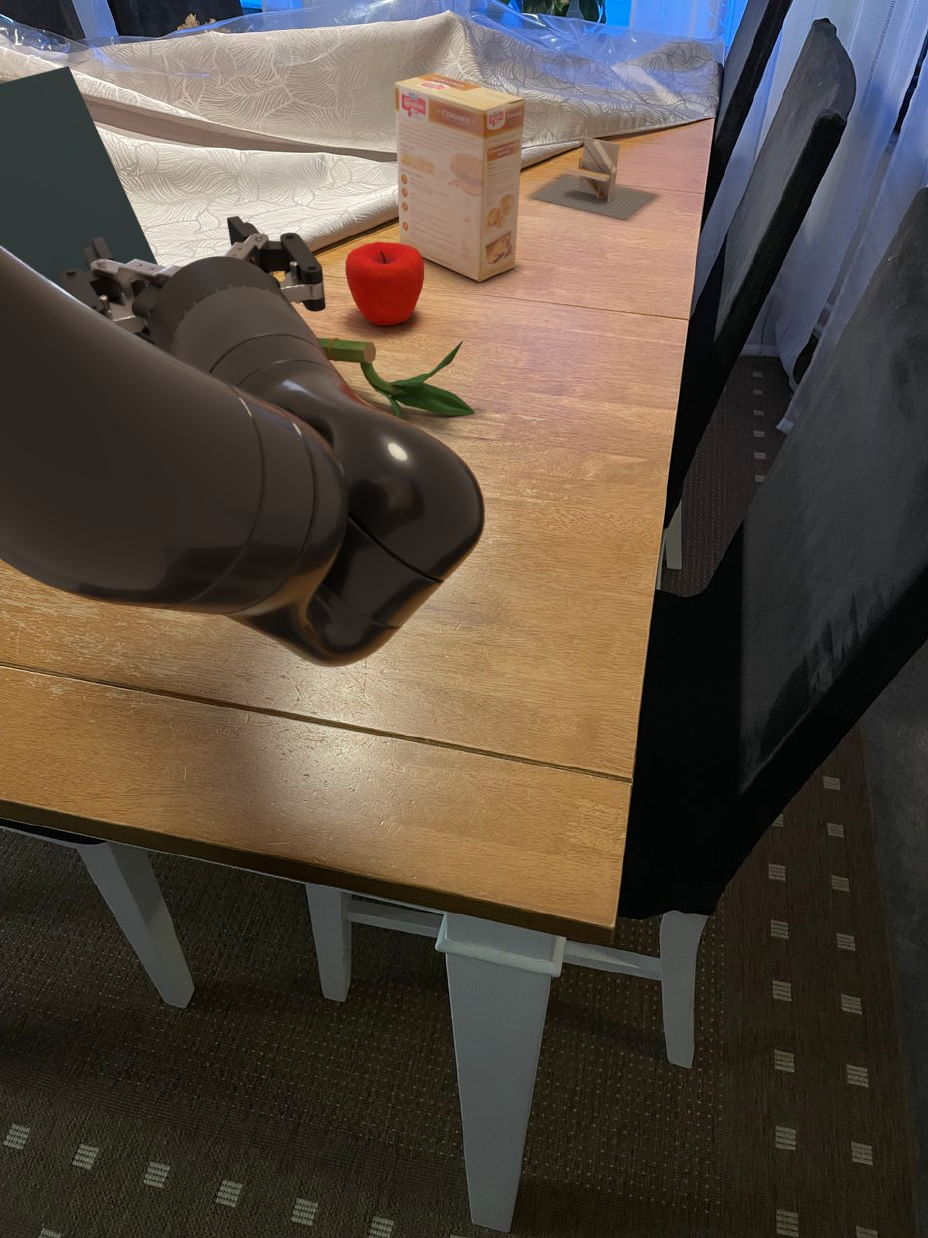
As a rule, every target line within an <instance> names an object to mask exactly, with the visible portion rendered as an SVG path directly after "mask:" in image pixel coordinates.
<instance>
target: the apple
mask: <svg viewBox="0 0 928 1238" xmlns="http://www.w3.org/2000/svg"><path fill="white" fill-rule="evenodd" d="M344 271H345V277H346V281H347V286H348V289H349V292H350V295H351V297H352V300H353V302H354V303H355V305H356V308H357V309H358V310H359V312H360V313H361V314H362V316H363V317H364V318H365V319H366V320H367V321H369V322H370V323H372V324H373V325H377V326H385V327H388V326H396V325H399V324H402V323H403V322H406V321H408V320H409V318H410V316H411V315H412V314H413V311H414V310H415V309H416V307H417V303H418V301H419V298H420V295H421V292H422V289H423V287H424V280H425V261H424V259H423V257H422V256H421V255H420V253H419V251H418V250H417V249H415V248H414V247H412V246H409V245H405V244H400V242H391V241H389V242H387V241H374V242H370V243H366V244H362V245H360V246H359V247H356V248H354V249H352V250H351V251H349V253H348V254H347V257H346V259H345V269H344Z"/></svg>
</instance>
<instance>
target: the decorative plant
mask: <svg viewBox="0 0 928 1238" xmlns="http://www.w3.org/2000/svg"><path fill="white" fill-rule="evenodd" d="M317 338H318V340H319V342H320V343H321V345H322V347H323V349H324V352H325V354H326V356H327V358H328V359H329V361H333V362H342V363H343V362H344V363H354V364H359V366H360V369H361V372H362V374H363V376H364V378H365V380H366V381H367V383H368V384H369V385H370V386H371V387H372V388H373V389H374V390H375V392H377V393H379V394H381V395H382V396H384V397H385V398H386V399H387V400H388V401H389V404H390V405H391V407H392V410H393V413H394V416H395V417H398V418H400V419H402V418H403V410H402V407H401V405H400V404H402V405H403V406H406V407H411V408H416V409H419V410H422V411H426V412H430V413H435V414H439V415H445V416H465V415H470V414H476V411H475V410H474V409H472V407H471V406H470V405H469V404H468V403H467V402H466V401H464V400H463V399H462V398H461V397H459V396H458V395H457V394H455V393H453V392H452V391H449V390H446V389H444V388H440V387H437V386H434V385H432V384H429V383H426V382H425V381H428V379H429V378H432V377H433V376H434V375H435V374H437V373H438V372H439V371H441V370H442V369H444V368H445V367H447V366H449V365H450V364H451V363H452V362H453V360H454V359H455V357H456V356H457V353H458V351H459V350H460V347H461V346H462V344H463V343H464V340H461V341H460V342H459V343H458V344H457V345H456V346H455V347H454V348H453V349H452V350H451V351H450V352H449V353H448V354H447V355H446V356H445V357H444V358H443V359H442V360H441V361H440V362H439V364H437V366H436V367H434V369H433V370H431V371H430V372H429V373H420V374H418V375H415V376H413V377H410V378H406V379H397V380H395V381H387V380H385V379H383V378H382V377H380V376H379V374H378V373H377V371H376V369H375V368H374V365H373V362H374V361H375V360H376V355H377V354H376V353H377V348H376V346H375V344H374V342H373V341H364V340H351V339H350V340H349V339H340V338H339V337H333V338H329V337H328V338H326V337H317ZM399 403H400V404H399ZM402 420H403V419H402Z"/></svg>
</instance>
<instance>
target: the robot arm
mask: <svg viewBox="0 0 928 1238" xmlns="http://www.w3.org/2000/svg"><path fill="white" fill-rule="evenodd" d="M226 224H227V230H228V234H229V242H230V248H229V249H228V250H227V251H226V252H225V254H223V255H216V256H208V257H203V258H200V259H197V260H194V261H191V262H190V263H187V264H186V265H182V266H180V265H176V264H171V265H169V266H164V265H160V264H158V265H156V264H153V263H149V262H145V261H141V260H138V259H133V260H132V261H130V262H128V263H126V264H123V263H119V262H115V261H114V258H113V256H112V254H111V252H110V250H109V248H108V246H107V245H106V243H105V241H104V239H103V237H99V238H93V239H91V242H92V246H93V247H87V248H85V249H84V251H83V253H84V256H85V260H86V263H87V267H88V270H89V271H88V272H86V273H83V272H82V271H81V270H79V269H67V270H64V271H62V272H61V273H60V276H61V280H62V283H63V285H64V286H65V289H66V291H64V290H63V289H62V288H60V287H59V286H57V285H56V284H54V283H53V282H52V281H50V280H49V279H47V278H46V277H44V276H43V275H41V274H40V273H39V272H37V271H36V270H34V269H33V268H32V267H30V266H29V265H27V264H26V263H25V262H23V261H22V260H21V259H19V258H18V257H16V256H15V255H14V254H12V253H11V252H9V251H8V250H7V249H5V248H4V247H3V246H1V245H0V560H1V561H2V562H4V563H6V564H7V565H9V566H10V567H12V568H14V570H17V571H18V572H20V573H22V574H23V575H24V576H27V577H29V578H31V579H33V580H34V581H37V582H39V583H41V584H44V585H45V586H48V587H51V588H54V589H57V590H59V591H62V592H64V593H68V594H70V595H74V596H76V597H80V598H83V599H87V600H90V601H93V602H99V603H105V604H110V605H115V606H123V607H124V606H125V607H136V608H144V609H152V610H164V611H172V612H173V611H174V612H185V613H191V614H193V613H194V614H203V615H215V616H216V615H217V616H223V617H226V618H227V619H230V620H232V621H234V622H236V623H238V624H240V625H243V626H244V627H246V628H249V629H251V630H253V631H255V632H257V633H259V634H261V635H263V636H265V637H267V638H269V639H270V640H272V641H274V642H276V643H277V644H279V645H281V646H282V647H283V648H285V649H286V650H287V651H289V652H291V653H292V654H294V655H296V656H298V657H299V658H300V659H302V660H304V661H306V662H308V663H311V664H313V665H314V666H318V667H323V668H331V669H332V668H342V667H347V666H349V665H354V664H356V663H359V662H361V661H363V660H365V659H367V658H369V657H371V656H372V655H373V654H375V653H377V651H379V650H380V649H381V648H382V647H384V645H386V644H387V643H388V642H389V641H390V640H391V639H392V638H393V637H394V636H395V635H396V634H397V633H398V632H399V630H400V629H401V628H402V627H404V624H406V623H407V622H408V621H409V619H411V618H412V617H413V615H415V614H416V612H417V611H418V610H419V609H421V607H422V606H423V605H424V604H425V603H426V602H427V601H428V600H429V599H430V598H431V597H432V596H433V595H434V594H435V592H437V590H439V588H440V587H441V586H442V585H443V584H444V583H445V582H446V580H448V579H449V578H450V577H451V576H452V575H453V574H454V573H455V571H457V570H458V569H459V567H461V566H462V565H463V563H464V562H465V561H466V560H467V559H468V558H469V557H470V556H471V554H472V553H473V552H474V550H475V549H476V547H477V546H478V544H479V542H480V541H481V539H482V536H483V533H484V528H485V524H486V508H485V500H484V494H483V492H482V489H481V486H480V483H479V480H478V479H477V477H476V475H475V473H474V472H473V471H472V469H471V468H470V466H469V465H468V464H467V462H465V460H464V459H463V458H462V457H460V455H459V454H458V453H456V451H454V450H453V449H452V447H449V446H448V445H447V444H446V443H444V442H443V441H441V440H440V439H438V438H436V437H435V436H434V435H432V434H430V433H429V432H427V431H425V430H423V429H422V428H420V427H418V426H417V425H415V424H413V423H411V422H408V421H406V420H404V419H400V418H398V417H396V416H395V415H393V414H390V413H389V412H386V411H384V410H382V409H380V408H378V407H375V406H373V405H372V404H370V403H368V402H367V401H366V400H364V399H363V398H362V397H360V396H359V395H358V394H357V393H356V392H355V390H353V389H352V387H351V386H350V385H349V384H348V382H347V381H346V380H345V379H344V377H343V376H342V375H341V373H340V372H339V371H338V370H337V368H336V367H335V366H334V365H333V363H332V362H331V360H329V359H328V358H327V356H326V354H325V352H324V349H323V347H322V345H321V343H320V342H319V340H318V338H319V337H318V336H317V335H316V334H315V332H314V331H313V329H312V328H311V326H309V324H308V323H307V322H306V320H305V319H304V318H303V316H302V315H301V313H299V311H298V310H297V309H296V307H295V306H294V305H293V304H292V303H295V304H301V303H302V305H303V306H304V308H305V309H306V310H307V311H309V312H312V313H313V312H314V313H317V312H321V311H323V310H325V309H326V307H327V305H326V293H325V284H324V272H323V271H324V270H323V266H322V264H321V262H319V260H318V259H317V257H316V256H315V255H314V254H313V252H312V251H311V250H310V248H309V247H308V245H307V244H306V243H305V241H304V240H303V238H302V237H301V235H299V234H298V233H296V232H284V233H282V234H280V236H279V239H280V240H270V239H269V234H266V233H261V232H260V231H259V230H258V228H256V226H255V224H253V223H251V222H248V221H246V222H244V221H243V220H242V219H241V217H240V216H239V215H235V216H229V217H227V218H226ZM274 272H283V273H284V277H285V278H284V280H281V281H279V279H278V278H277V277H276V276H274ZM145 281H146V282H149V284H148V285H147V286H146V282H145ZM121 286H122V288H121ZM122 290H123V292H122ZM123 293H124V294H123ZM136 332H139V333H140V334H141V335H142V336H143V337H145V338H147V339H149V340H152V341H153V342H154V343H155V345H156V346H155V345H153V344H151V343H150V342H148V341H146V340H144V339H142V338H141V337H139V336H137V335H135V334H133V333H136Z"/></svg>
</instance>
